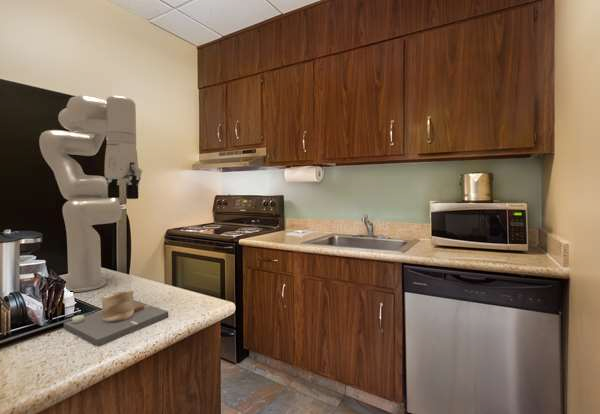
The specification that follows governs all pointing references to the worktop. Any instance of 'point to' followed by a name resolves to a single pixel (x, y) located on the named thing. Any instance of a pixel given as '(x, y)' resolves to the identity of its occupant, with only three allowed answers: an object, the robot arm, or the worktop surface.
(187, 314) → the worktop surface
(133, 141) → the robot arm
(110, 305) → the levelling knob
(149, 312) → the base plate
